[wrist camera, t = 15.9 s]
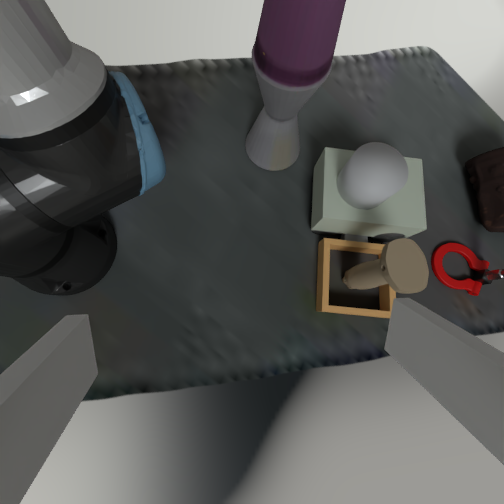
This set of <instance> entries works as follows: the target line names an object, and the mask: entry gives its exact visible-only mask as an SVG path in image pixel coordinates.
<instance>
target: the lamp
mask: <svg viewBox="0 0 504 504" xmlns="http://www.w3.org/2000/svg"><path fill="white" fill-rule="evenodd" d="M345 2H346V0H264V4H263V8H262V13H261V18H260V22H259V27H258V32H257V36H256V41H255V44H254V46H253V49H252V61H253V65H254V69H255V73H256V76H257V80H258V84H259V87H260V91H261V95H262V99H263V102H264V107H263V109H262V111H261V112H260V114H259V116H258V118H257V119H256V121H255V123H254V125H253V126H252V128H251V130H250V131H249V133H248V135H247V137H246V141H245V148H246V152H247V154H248V157H249V158H250V159H251V161H252V162H253V163H255V164H256V165H257V166H259V167H261V168H263V169H266V170H273V171H277V170H282V169H285V168H287V167H289V166H291V165H292V164H293V163H294V162H295V161H296V160H297V158H298V156H299V153H300V140H299V128H298V116H297V113H298V112H299V111H300V109H301V108H302V107H303V106H304V105H305V104H306V102H307V101H308V100H309V99H310V98H311V96H312V95H313V94H314V93H315V92H316V91H317V89H318V88H319V87H320V86H321V85H322V83H323V82H324V81H325V80H326V78H327V77H328V76H329V74H330V71H331V69H332V59H333V55H334V50H335V46H336V41H337V37H338V33H339V28H340V24H341V20H342V15H343V11H344V6H345Z"/></svg>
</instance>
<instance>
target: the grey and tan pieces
mask: <svg viewBox="0 0 504 504" xmlns="http://www.w3.org/2000/svg"><path fill="white" fill-rule="evenodd" d="M426 229H427V226H426V212H425V197H424V183H423V168H422V159H416V158H408V157H403V156H402V154H401V153H400V152H399V151H398V150H396V149H395V148H394V147H392V146H390V145H388V144H385V143H381V142H371V143H367V144H364V145H362V146H360V147H359V148H358V149H357V150H356V151H352V150H344V149H336V148H328V147H325V148H324V150H323V152H322V154H321V156H320V157H319V159H318V161H317V163H316V165H315V167H314V175H313V198H312V221H311V231H312V232H313V233H315V234H319V235H334V234H338V233H343V234H342V235H341V238H340V240H339V239H330V238H323V239H322V240H321V241H320V242H319V243H318V271H317V299H316V311H321V312H331V313H341V314H351V315H361V316H371V317H381V318H390V317H391V311H392V306H393V301H394V298H396V291H394V290H393V289H392V288H391V287H390V285H389V284H385V285H381V286H379V303H380V310H370V309H360V308H351V307H341V306H331V305H328V304H329V263H330V249H333V250H342V251H351V252H360V253H370V254H378V256H379V259H380V257H381V253H382V249H383V247H384V246H385V245H384V244H375V243H368V236H370V237H373V239H374V240H376V241H382V242H391V241H393V240H396V239H400V238H407V237H409V236H412V235H414V234H417V233H419V232H421V231H424V230H426Z"/></svg>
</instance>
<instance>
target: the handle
mask: <svg viewBox="0 0 504 504" xmlns="http://www.w3.org/2000/svg"><path fill="white" fill-rule="evenodd" d="M428 275H429V270H428V266H427V262H426V258H425V256H424V254H423V252H422V250H421V249H420V248H419V247H418V245H417V244H416V243H415V241H413V240H410V239H405V238H400V239H396V240H393V241H391V242H389V243H387V244H386V245H385V246H384V247H383V249H382V253H381V257H380V259H377V260H373V261H369V262H364V263H361V264H358V265H356V266H354V267H352V268H351V269H350V270H347V271H346V272H345V276H344V278H343V279H342V281H343V283H345V284H346V285H347V287H348V288H350V289H353V288H354V289H370V288H374V287H378V286H381V285H385V284H389V285H390V287H391V288H392V289H393V290H394V291H396V292H399V293H416V292H420V291H422V290H423V289H425V288H426V287H427V282H428Z"/></svg>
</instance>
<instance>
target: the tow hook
mask: <svg viewBox="0 0 504 504" xmlns="http://www.w3.org/2000/svg"><path fill="white" fill-rule="evenodd" d="M447 252H457V253H459V254H461V255H462V256H464V257H465V259H466V260H467V262H468V264H469V267H470V268H471V269H473V270H475V272H474V275H473V277H472V279H470V278H467V279H464V280H455V279H453V278H451V277H450V276H448V275H447V274H446V272H445V271H444V269H443V266H442V259H443V256H444V255H445V254H446V253H447ZM431 265H432V269H433V272H434V274H435V276H436V277H437V278H438V279H439V281H441V282H442V283H443V284H444V285H446V286H448V287H450V288H453V289H465V290H467V291H468V293H469V294H471V295H474V296H478V295H479V292H480V289H481V286H482V285H484V284H491V282H492V280H498V279H504V269H498V270H493V271H489V270H487V269H488V266H489V262H488V261H484V260H479V259H477V257H476V255H475V254H474V253H473V252H472V251H471V250H470V249H469V248H467V247H466V246H464V245H461V244H458V243H447V244H444V245H441V246H440V247H438V248H437V249H436V250H435V251H434V253H433V255H432V259H431Z"/></svg>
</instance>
